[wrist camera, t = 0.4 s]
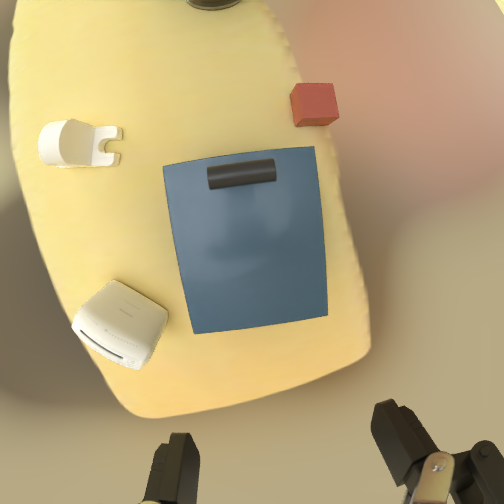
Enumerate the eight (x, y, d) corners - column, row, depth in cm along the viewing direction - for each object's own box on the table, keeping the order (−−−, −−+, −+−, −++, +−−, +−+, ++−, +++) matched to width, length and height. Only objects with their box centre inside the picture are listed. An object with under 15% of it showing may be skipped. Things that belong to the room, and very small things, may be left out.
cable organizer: (66, 133, 31) (25, 122, 21) (123, 128, 31) (87, 111, 22) (62, 168, 32) (19, 166, 22) (118, 166, 33) (80, 160, 23)
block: (289, 95, 32) (296, 83, 27) (322, 94, 32) (332, 83, 27) (295, 126, 33) (302, 118, 28) (327, 125, 33) (339, 117, 28)
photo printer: (174, 310, 37) (150, 360, 25) (162, 332, 38) (137, 384, 26) (112, 273, 36) (68, 308, 24) (103, 297, 36) (61, 336, 24)
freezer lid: (164, 166, 24) (147, 162, 19) (311, 147, 24) (328, 138, 19) (194, 330, 27) (187, 357, 23) (325, 312, 28) (341, 335, 23)
